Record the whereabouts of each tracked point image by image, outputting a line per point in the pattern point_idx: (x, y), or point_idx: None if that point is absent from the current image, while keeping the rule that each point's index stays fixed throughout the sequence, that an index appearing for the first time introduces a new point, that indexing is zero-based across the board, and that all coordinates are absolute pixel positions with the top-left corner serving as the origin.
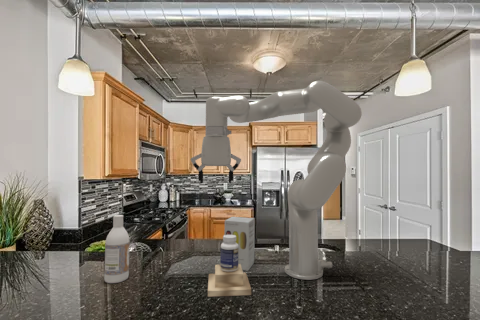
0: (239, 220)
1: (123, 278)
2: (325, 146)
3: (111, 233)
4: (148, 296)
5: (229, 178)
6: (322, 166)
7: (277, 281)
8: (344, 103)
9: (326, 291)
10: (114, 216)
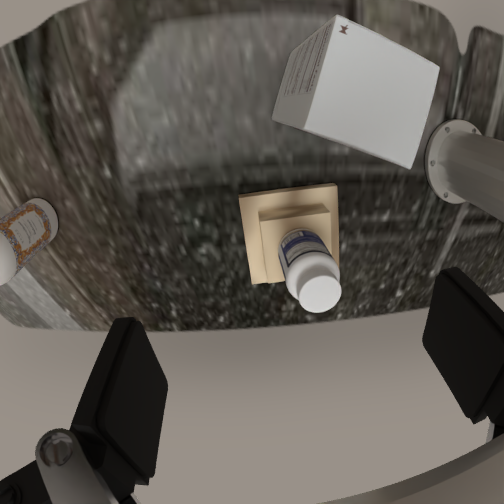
0: (376, 133)
1: (55, 231)
2: None
3: None
4: (138, 282)
5: (442, 369)
6: None
7: (397, 204)
8: None
9: (456, 243)
10: None
